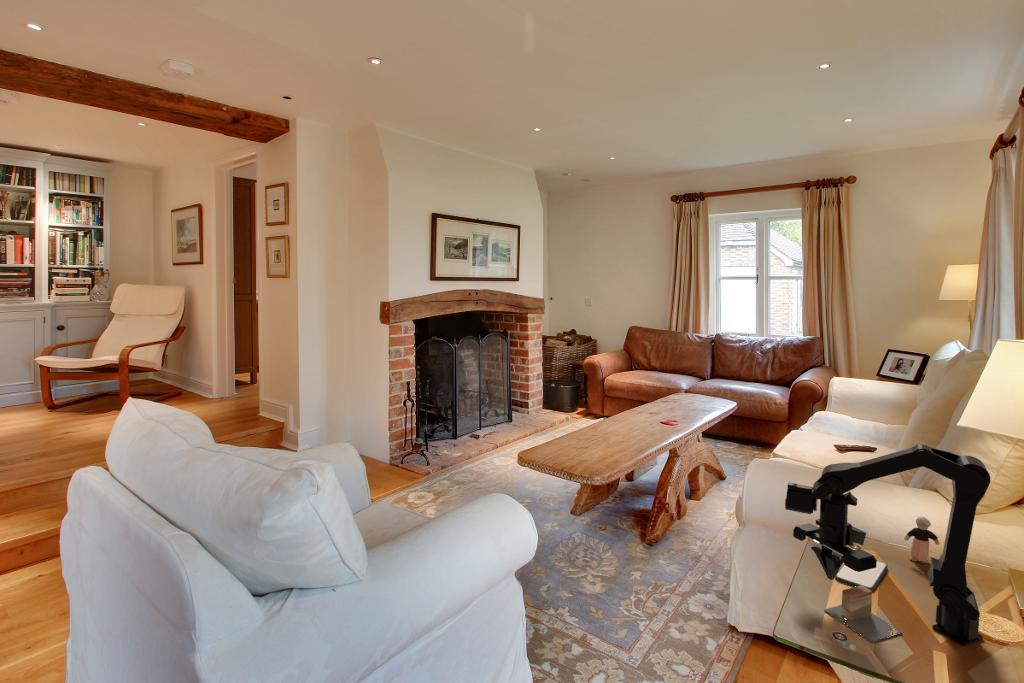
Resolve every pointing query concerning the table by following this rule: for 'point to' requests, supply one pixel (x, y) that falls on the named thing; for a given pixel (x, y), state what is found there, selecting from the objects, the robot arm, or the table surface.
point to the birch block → (856, 602)
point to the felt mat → (865, 625)
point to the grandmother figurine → (921, 540)
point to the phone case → (862, 576)
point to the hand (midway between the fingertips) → (831, 578)
